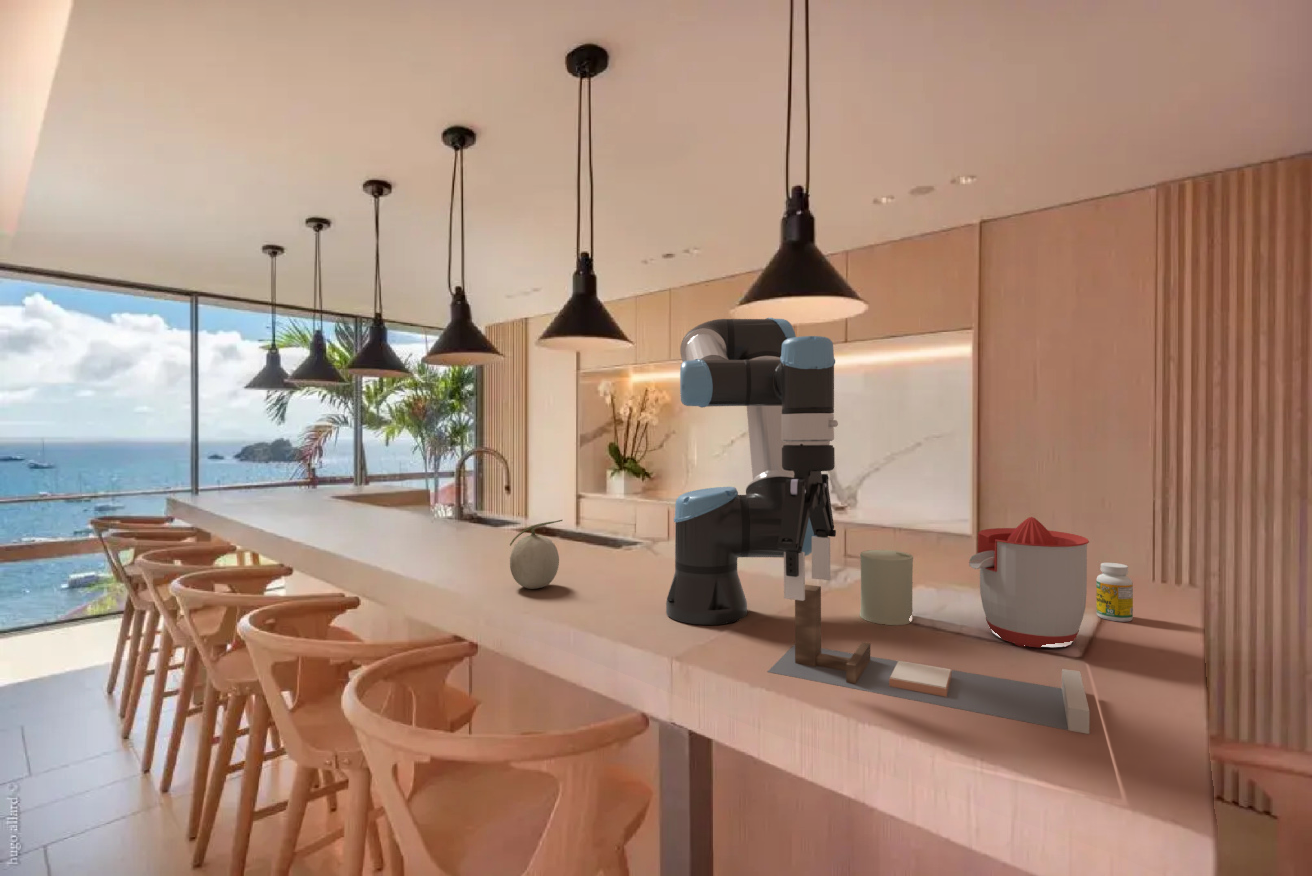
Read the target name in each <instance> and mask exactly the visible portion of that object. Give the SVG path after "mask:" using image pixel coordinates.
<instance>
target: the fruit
mask: <svg viewBox="0 0 1312 876" xmlns="http://www.w3.org/2000/svg"><path fill="white" fill-rule="evenodd" d="M558 522H563V519H559V520H554V521H548V522H547V521H546V522H540V523H538V524H534V525H531V526H529V527H527V528H525V529H523V530H522V531H520V532H518V534H517V535H515V536H514V537H513V539H512V540H511V542H510V543H509V546H510V547H511V546H512V545H513V543H514V542H515V541H516V540H517V539H518V538H519V537H520V536H521V535H522V534H524V533H526V532H527V531H529V530H530V534H529V535H527V536H524V537H522V538H521V539H519V540H518V541H517V542H516V544H514V546H513V548H512V550H511V551H510V552H511V553H510V557H509V568H510V569H509V570H510V573H511V575H512V578H513V579H514V581H515V582H516V583H517V584H518V585H520V586H521V587H524V588H526V589H528V590H530V589H531V590H536V589H542V588H545V587H546V586H548V585H550V584H551V583H552V582H553V581H554V578H555V577H556V576H557V573H558V570H559V566H560V556H559V555H560V554H559V552H558V548H557V546H556V545H555V543H554V542H553V540H552V539H550V538H549V537H547V536H544V535H542V534H536V531H535V530H536V529H537V528H540V527H542V526H546V525H550V524H554V523H558Z"/></svg>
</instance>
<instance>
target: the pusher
mask: <svg viewBox="0 0 1312 876" xmlns="http://www.w3.org/2000/svg"><path fill="white" fill-rule="evenodd" d="M794 630H795V631H794V635H795V636H794V644H795V663H797V664H803V665H808V666H813V667H816V666H821V667H826V668H832V669H837V670H843V671H846V682H847V683H852V684H856V682H857V681H858V679H859V678H860V676H861V674H862V673H863V671H864V669H865V668H866V666H867V665H868V663H869V661H870V656H871V643H870V642H864V641H862V642H861V643H860V644H859V646H858V647H857V648H856V649H855V651H854V652H853V656H852V657H851V658H846V657H840V656H834V655H828V654H822V653H821V648H822V587H821V586H820V585H811V584H805V600H804V601H801V600H794Z"/></svg>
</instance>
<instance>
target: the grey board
mask: <svg viewBox="0 0 1312 876" xmlns="http://www.w3.org/2000/svg"><path fill="white" fill-rule="evenodd" d="M821 653H822V654H828V655H834V656H840V657H846V658H851V657H852V656H853V654H854V652H852V653H851V652H848V651H847V652H846V651H840V650H834V649H828V648H822V647H821ZM898 661H899V660H894V659H888V658H883V657H876V656H871V655H870V661H869V663H868V665H867V666H866V668H865V669H864V671H863V673H862V674H861V676H860V678H859V679H858V681H857V682H856V684H852V683H847V682H846V671H843V670H837V669H832V668H826V667H821V666H816V667H813V666H808V665H803V664H797V663H795V643H794V644H793V645H792V646H791V647H790V649H788V650H787V651H786V652H785V653H784V654H783V655H782V656H781V657H780V658H779V659H778V660H777V661H776V662H775V663H774V664H773V665H772V666H771V667H770V668H769V670H767V673H769V674H770V673H772V674H776V675H780V676H787V677H791V678H797V679H802V680H807V681H812V682H818V683H822V684H827V685H833V686H837V687H838V686H839V687H842V688H848V689H851V690H852V689H854V690H857V691H863V692H869V693H873V694H874V693H875V694H880V695H884V696H889V697H893V698H899V699H905V700H910V701H915V702H921V703H926V704H929V705H936V706H941V707H945V708H951V709H957V710H961V711H966V712H967V711H968V712H970V713H971V712H972V713H976V714H982V715H988V716H993V717H997V718H1004V719H1007V720H1012V721H1013V720H1014V721H1020V722H1024V723H1027V724H1028V723H1029V724H1032V725H1033V724H1035V725H1038V726H1039V725H1040V726H1044V727H1050V728H1055V729H1059V730H1060V729H1061V730H1065V731H1071V732H1075V733H1081V734H1084V735H1085V734H1086V735H1090V708H1089V704H1088V699H1087V695H1086V690H1085V687H1084V682H1083V678H1082V675H1081V671H1079V670H1073V669H1072V670H1071V669H1066V668H1062V669H1061V687H1058V686H1050V685H1043V684H1039V683H1034V682H1033V683H1032V682H1026V681H1019V680H1015V679H1008V678H1003V677H995V676H989V675H984V674H977V673H972V672H964V671H960V670H955V669H951V670H952V678H951V682H950V685H949V689H948V693H947V697H945V696H940V695H934V694H929V693H924V692H918V691H913V690H908V689H902V688H897V687H891V686H889V678H890V676H891V674H892V672H893V670H894V668H895V666H896V664H897V662H898Z"/></svg>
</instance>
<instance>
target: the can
mask: <svg viewBox="0 0 1312 876" xmlns="http://www.w3.org/2000/svg"><path fill="white" fill-rule="evenodd" d="M859 557H860V609H859V610H860V611H859V612H860V613H859V617H860V618H861V619H862V620H865V621H866V622H869V623H872V624H878V625H882V624H885V625H884V626H904V625H909V624H911V623H910V621H909V618H910V616H911V615H912V612H913V571H914V570H913V566H914V563H913V562H914V555H912V554H911V553H908V552H904V551H899V550H893V549H892V550H891V549H870V550H864V551H861V552H860V554H859Z"/></svg>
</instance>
